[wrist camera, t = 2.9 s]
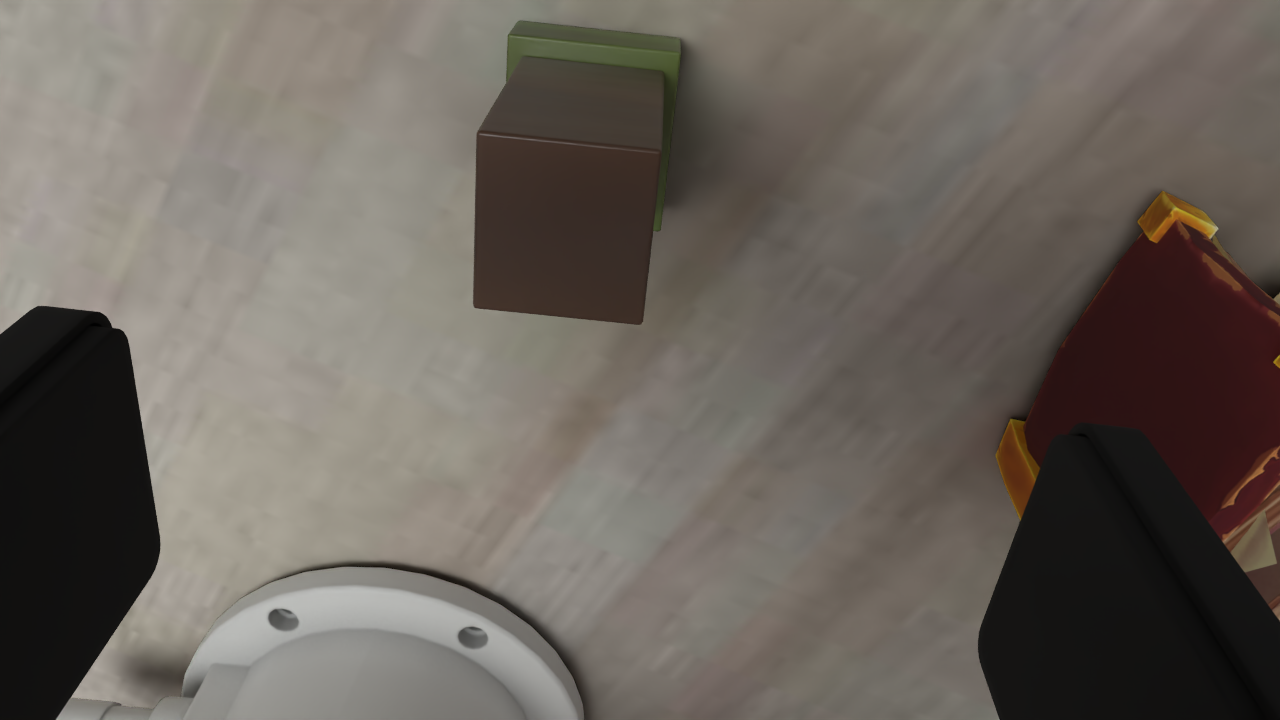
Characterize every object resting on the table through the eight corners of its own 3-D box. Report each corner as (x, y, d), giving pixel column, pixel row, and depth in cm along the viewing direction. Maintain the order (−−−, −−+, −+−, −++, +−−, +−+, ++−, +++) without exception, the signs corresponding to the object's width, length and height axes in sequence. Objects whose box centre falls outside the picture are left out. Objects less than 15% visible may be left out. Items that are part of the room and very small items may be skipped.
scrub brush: (661, 209, 24) (656, 348, 18) (510, 193, 24) (454, 327, 18) (680, 37, 22) (684, 128, 16) (517, 19, 22) (457, 104, 16)
